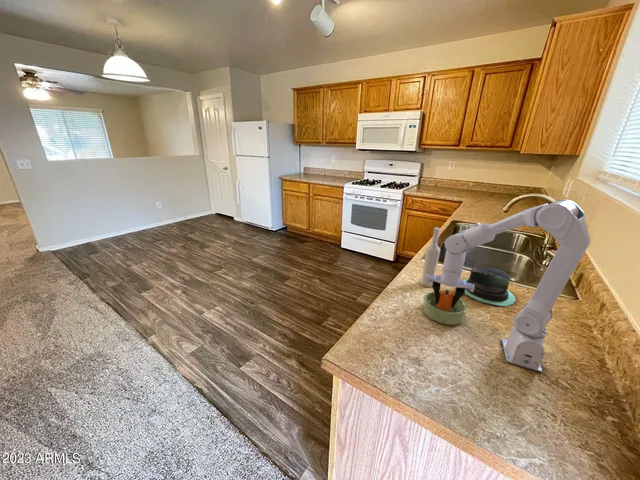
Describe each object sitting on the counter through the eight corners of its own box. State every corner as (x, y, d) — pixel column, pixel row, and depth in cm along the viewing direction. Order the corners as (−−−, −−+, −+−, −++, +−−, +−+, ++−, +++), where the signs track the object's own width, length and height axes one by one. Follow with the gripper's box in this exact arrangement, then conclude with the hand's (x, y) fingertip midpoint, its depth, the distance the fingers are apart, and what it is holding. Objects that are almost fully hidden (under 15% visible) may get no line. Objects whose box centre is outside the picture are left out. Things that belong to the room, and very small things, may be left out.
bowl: (463, 330, 85) (467, 318, 83) (420, 318, 90) (422, 306, 88) (463, 308, 96) (466, 297, 94) (424, 299, 101) (426, 288, 99)
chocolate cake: (507, 281, 113) (528, 309, 95) (461, 293, 120) (472, 321, 103) (496, 251, 110) (516, 275, 92) (450, 265, 117) (459, 290, 99)
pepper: (450, 312, 89) (454, 295, 87) (436, 308, 91) (439, 291, 89) (451, 305, 93) (455, 288, 91) (437, 301, 95) (440, 285, 92)
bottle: (420, 286, 110) (430, 229, 101) (420, 280, 115) (429, 225, 106) (433, 288, 109) (445, 231, 100) (432, 282, 113) (443, 227, 104)
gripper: (476, 268, 87) (467, 303, 92) (430, 259, 93) (423, 292, 98) (478, 277, 81) (468, 314, 86) (428, 267, 87) (421, 302, 92)
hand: (444, 303), depth 91 cm, fingers closed on pepper, 4 cm apart
